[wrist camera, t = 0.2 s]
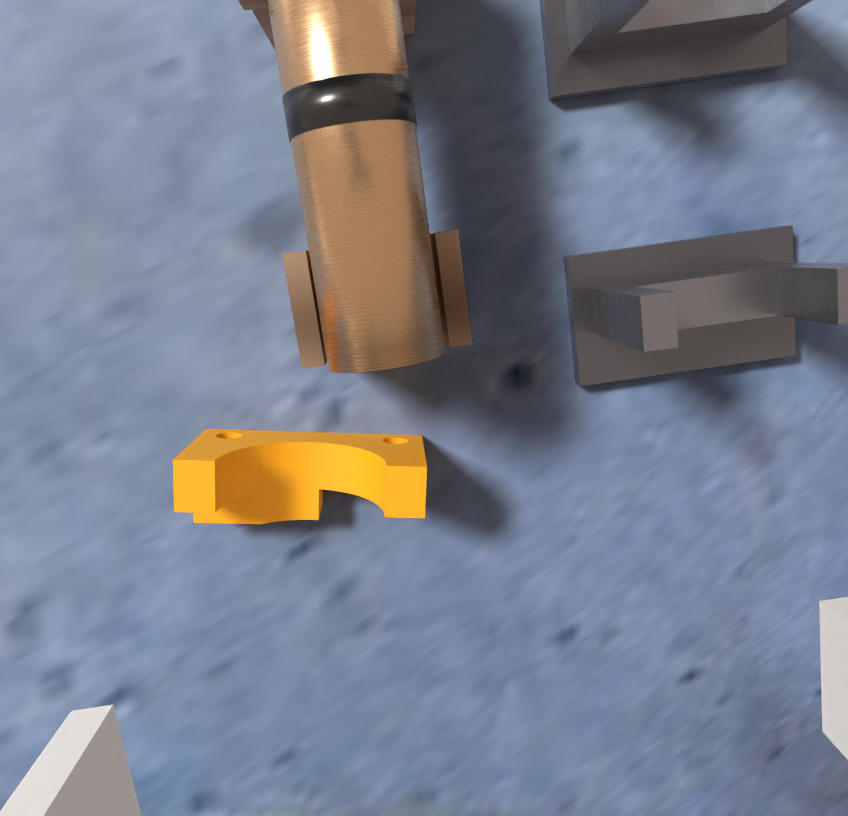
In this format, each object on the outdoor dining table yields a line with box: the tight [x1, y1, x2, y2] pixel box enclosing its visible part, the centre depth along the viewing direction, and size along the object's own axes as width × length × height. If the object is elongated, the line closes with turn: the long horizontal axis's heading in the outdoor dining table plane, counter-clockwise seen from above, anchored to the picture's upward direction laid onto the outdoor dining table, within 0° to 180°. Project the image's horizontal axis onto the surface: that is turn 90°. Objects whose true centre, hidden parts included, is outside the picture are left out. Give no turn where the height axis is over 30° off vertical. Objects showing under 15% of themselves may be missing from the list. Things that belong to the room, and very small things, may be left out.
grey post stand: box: [540, 0, 848, 386], centre depth 34 cm, size 22×12×9 cm, turn 8°
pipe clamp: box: [173, 429, 427, 524], centre depth 38 cm, size 12×4×6 cm, turn 88°
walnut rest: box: [239, 0, 472, 368], centre depth 34 cm, size 20×8×8 cm, turn 8°
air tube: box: [267, 0, 445, 373], centre depth 29 cm, size 20×5×5 cm, turn 8°
